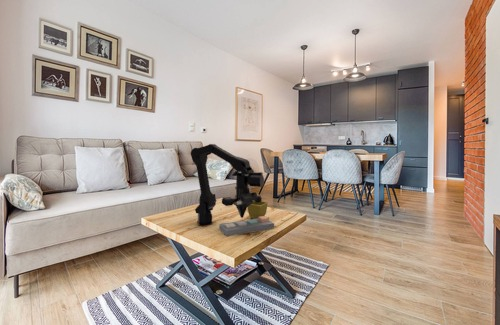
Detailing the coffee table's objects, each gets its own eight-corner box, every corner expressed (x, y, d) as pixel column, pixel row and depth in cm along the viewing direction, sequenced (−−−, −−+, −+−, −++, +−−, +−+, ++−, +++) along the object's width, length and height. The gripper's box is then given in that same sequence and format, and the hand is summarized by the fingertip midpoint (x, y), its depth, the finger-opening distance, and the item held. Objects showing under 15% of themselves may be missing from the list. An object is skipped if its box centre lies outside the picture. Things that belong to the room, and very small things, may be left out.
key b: (239, 231, 107) (239, 224, 107) (236, 228, 111) (236, 222, 111) (246, 229, 109) (246, 223, 109) (243, 227, 113) (243, 221, 112)
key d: (261, 225, 112) (261, 219, 112) (257, 222, 116) (257, 216, 116) (268, 224, 114) (268, 218, 114) (264, 221, 118) (264, 215, 117)
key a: (227, 233, 105) (227, 226, 104) (224, 230, 108) (224, 224, 108) (235, 231, 106) (235, 225, 106) (232, 229, 110) (232, 222, 110)
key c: (250, 229, 110) (250, 223, 110) (247, 226, 113) (247, 220, 113) (257, 228, 112) (258, 222, 111) (254, 225, 115) (254, 219, 115)
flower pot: (260, 222, 121) (260, 205, 121) (246, 219, 126) (246, 203, 125) (267, 217, 129) (268, 202, 128) (254, 215, 133) (254, 200, 133)
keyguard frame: (226, 236, 101) (226, 230, 101) (219, 228, 110) (219, 223, 110) (274, 228, 112) (274, 223, 112) (264, 222, 121) (264, 217, 121)
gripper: (229, 189, 97) (229, 225, 98) (267, 186, 105) (267, 219, 106) (221, 185, 107) (221, 218, 108) (256, 183, 115) (256, 213, 116)
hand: (241, 217), depth 109 cm, fingers closed
